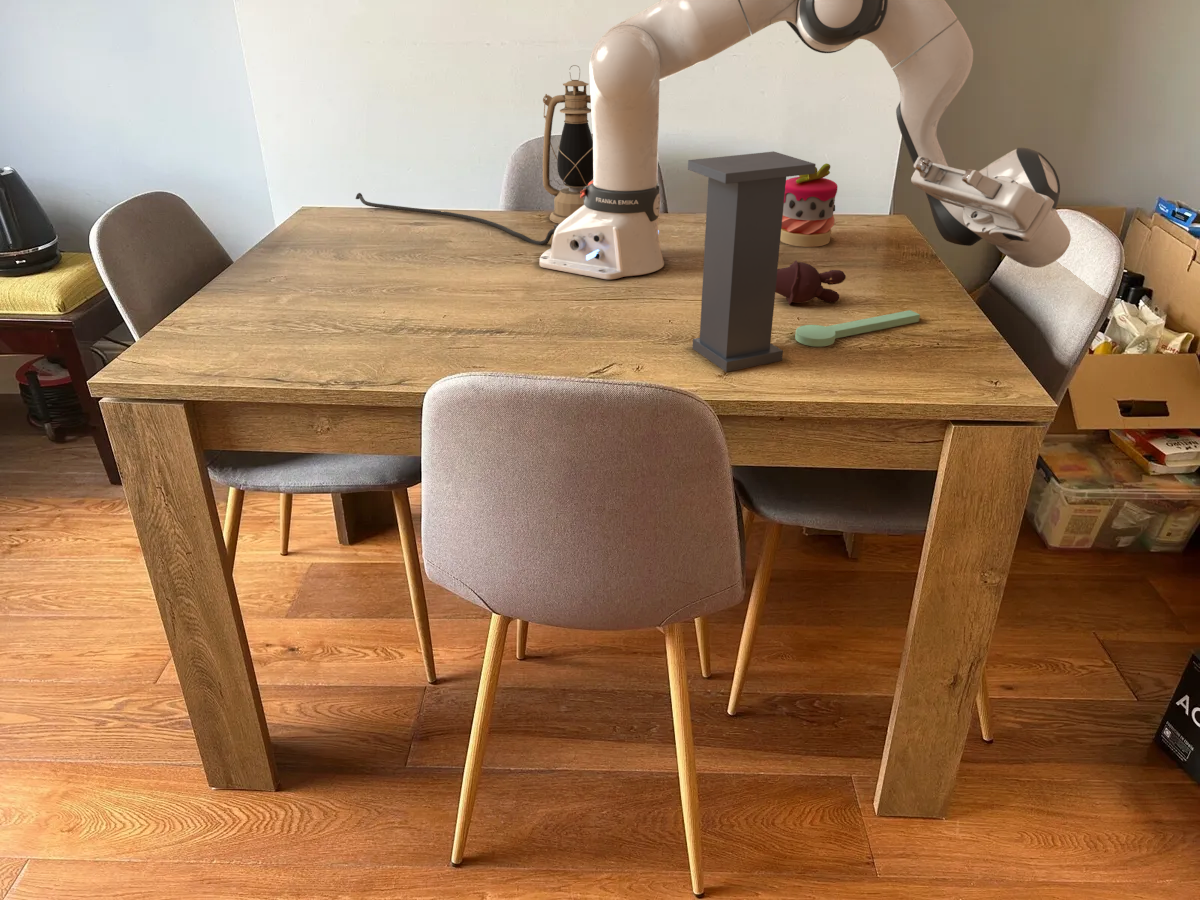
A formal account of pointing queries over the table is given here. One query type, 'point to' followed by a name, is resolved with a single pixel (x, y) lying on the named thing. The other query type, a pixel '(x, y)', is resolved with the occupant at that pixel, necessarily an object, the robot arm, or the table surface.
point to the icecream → (807, 283)
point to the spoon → (851, 328)
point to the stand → (742, 255)
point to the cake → (809, 209)
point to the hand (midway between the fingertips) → (942, 168)
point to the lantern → (569, 150)
